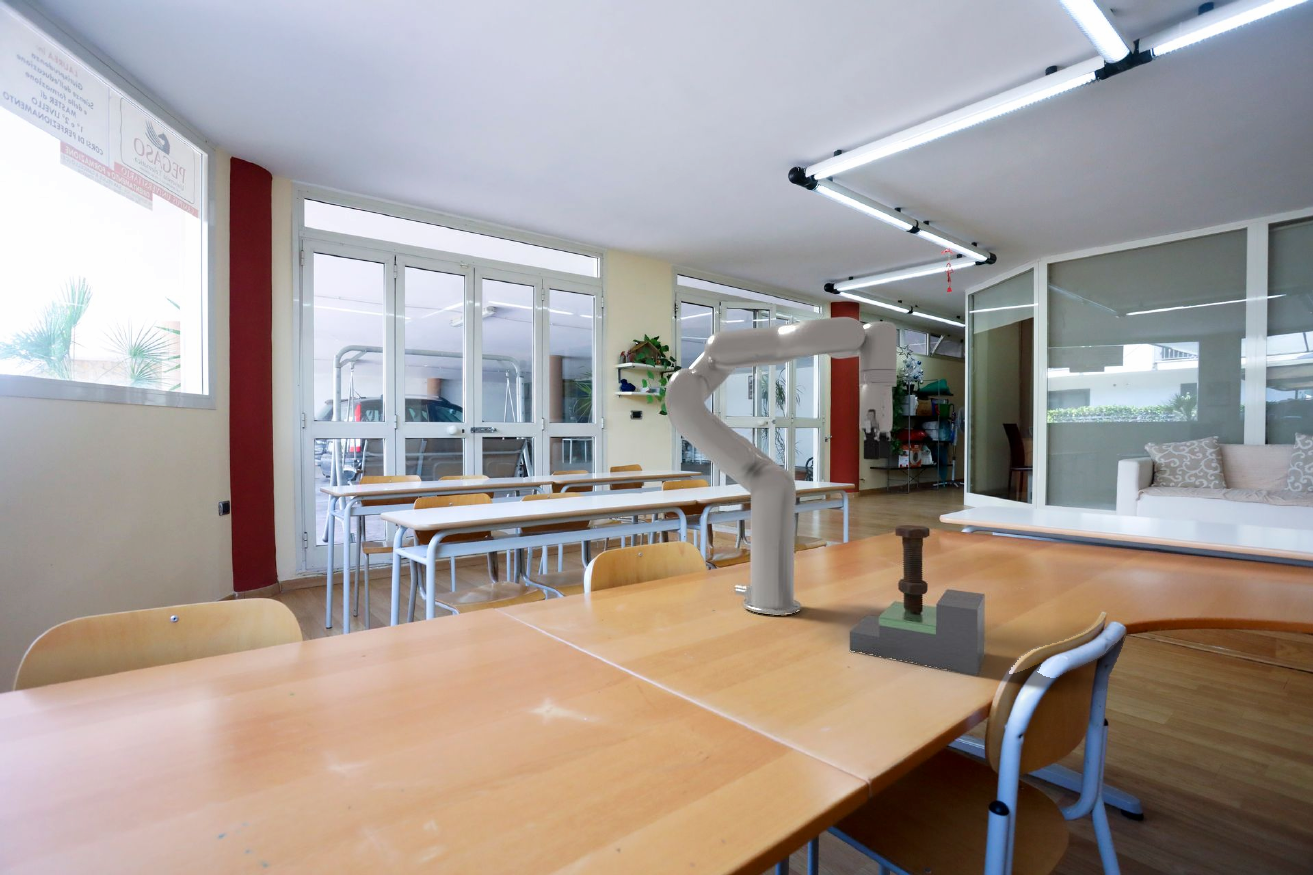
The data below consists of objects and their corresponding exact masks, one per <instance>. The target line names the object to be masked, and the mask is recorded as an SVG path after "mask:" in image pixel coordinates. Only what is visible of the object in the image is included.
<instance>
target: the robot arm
mask: <svg viewBox="0 0 1313 875" xmlns="http://www.w3.org/2000/svg"><path fill="white" fill-rule="evenodd" d="M897 331H898V330H897V326H896V325H895V323H893V322H890V321H870V322H868V323H864V324H862V322H860V321H859V320H858V319H856V318H853V317H848V316H838V317H827V318H817V319H810V320H803V321H799V322H792V323H786V324H785V323H783V324H780V325H775V326H774V325H772V326H764V327H755V328H754V327H752V328H744V329H743V328H742V329H741V328H740V329H732V330H729V329H728V330H723V331H722V330H721V331H717V332H714V333H713V334H711V335H710V336H708V338H707V340H706V343H705V345H704V351H703V352H702V353H701V354H700V355H699V357H698V358H697V359H696V360H695V361H694V362H693V363H692V364H691V365H690V366H689V368H688V367H686V368H681V369H678V370H677V371H675V372H674V373H673V374H672V375H671V376H670V378H668V379H669V380H668V382H667V385H666V389H665V394H664V395H665V396H664V404H665V405H664V406H665V410H666V414H667V416H668V419H669V421H670V423H671V425H672V426H673V428H674V429H675V431H677V432H678V434H679V435H680V436H681V437H682V438H683V439H685V440H686V442H688V443H689V444H690V445H691V446H693V447H694V449H696V450H697V451H698V452H699V453H700V454H702V455H703V456H704V457H705V458H707V459H708V461H710V462H711V463H713V465H714V466H715V467H716V468H717V469H718V470H719V471H720V472H721V473H722V474H724V475H727V476H728V477H730V478H731V479H732V480H733V481H735V482H736V484H737V485H738V484H739V486H741V487H742V488H743V489H744V490H745V491H747V492H748V493H749V494H750V584H748V585H745V584H740V583H736V584H735V586H734V592H735V595H738V596H739V595H741V596H744V597H745V599H744V600H743V603H742V605H744V607H745V608H747V609H749V610H753V611H755V612H758V613H769V614H785V613H794V612H796V611H797V610H800V609H801V610H802V604H801V602H800V601H798V600H796V599H795V514H796V500H797V498H796V497H797V494H796V493H797V491H796V489H797V488H796V484H795V480H794V477H793V476H792V474H791V473H790V472H789V471H788V470H787V469H786V468H784V467H783V466H781V465H779V464H778V463H777V462H776V461H775V460H773V459H772V458H771V457H769V455H768V454H766V453H765V452H763V451H762V450H761V449H759V448H758V447H757V446H756V445H755V444H753V443H752V442H751V441H750V440H749V439H748V438H746V436H745V437H744V435H741V434H739V433H738V432H736V431H735V430H734V429H732V428H731V427H729V425H727V424H726V423H725V422H724V421H722V420H721V419H720V417H718V416H717V415H715V414H714V413H713V412H712V411H711V410H710V409H709V408H708V407H707V405H706V404H705V402H706V401H707V400H708V399H709V398H710V397H711V396H712V395H713V394H714V393H715V392H716V391H717V389H718V388H719V387H720V386H722V384H723V383H724V382H725V381H726V380H727V379H728V378H729V376H730V375H731V374H732V373H733V372H734V371H735V369H743V368H752V367H753V368H754V367H765V366H766V367H767V366H778V365H783V364H786V363H790V362H792V361H795V360H798V359H802V358H806V357H813V356H820V355H828V357H830V358H832V359H837V360H838V359H839V360H841V359H843V360H844V359H847V358H848V359H849V358H856V357H859V388H861V393H860V406H859V408H860V409H859V425H858V426H859V430H860V431H861V432H863V459H864V460H872V461H873V460H875V461H876V460H877V461H878V460H880V459H891V458H892V440H891V439H892V436H891V431H892V429H893V422H894V421H893V419H894V418H893V417H894V416H893V414H894V413H893V390H892V388H893V387H897V383H898V382H897V377H898V376H897V374H898V372H897V366H898V365H897V363H898V362H897V360H898V359H897V358H898V357H897V352H898V351H897V350H898V348H897V347H898V345H897V343H898V341H897V340H898V334H897V333H898V332H897ZM744 607H743V608H744ZM745 608H744V609H745ZM758 613H757V614H758Z"/></svg>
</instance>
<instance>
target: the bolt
mask: <svg viewBox="0 0 1313 875" xmlns="http://www.w3.org/2000/svg"><path fill="white" fill-rule="evenodd" d="M930 533H931V531H930V528H929V527H927V526H924V525H913V524H907V525H906V524H905V525H903V524H901V525H897V526H896V527H895V536H898V537H901V538H902V539H901V543H902V550H903V551H902V561H903V562H902V563H903V564H902V565H903V566H902V567H903V568H902V571H903V572H902V574H903V576H902V578H901V579H900V580H899V581H898V584H897V586H898V588H897V589H898V591H900V593H903V601H902V602H903V603H904V604H903V605H904V606H903V607H904V608H905V611H907V612H909V613H911V614H913V613H916V614H920V613H921V612H922V611H923V605H924V604H923V602H924V598H923V596H924V595H926V594H927V592H928V587H929V586H928V583H927V582H926V581H925V580H923V577H924V576H923V545H924V539H926V538H928V537H930V536H931V535H930Z"/></svg>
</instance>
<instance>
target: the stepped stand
mask: <svg viewBox="0 0 1313 875" xmlns="http://www.w3.org/2000/svg"><path fill="white" fill-rule="evenodd" d="M985 596H986V594H985V593H980V592H973V591H972V592H971V591H965V590H956V589H955V590H954V589H948V588H946V590H945V591H944V593H943V594H942V596H941V597H940V598H939V600H938V601H937V602H936V606H931V605H925V604H922V605H923V611H922V612H921V613H920V614H916V613H913V614H911V613H909V612H907V611H905V608H904V607H903V606H904V605H903V604H904V603H903V602H904V601H897V600H894V601H893V602H892V603H891V604H890V605H888V607H887V608H885V610H884V611H883V612H882V613H881V614H880V615H879V616H873V615H868V614H867V615H866V616H865V617H864V618H863V619H862V620H861V621H859V623H857V624H856V625H855V626H854V627H852V629H851V630H850V631H849V651H850V650H851V651H855V652H862V653H865V654H873V655H876V656H881V657H885V658H884V659H886V658H892V659H896V660H902V661H907V662H913V663H917V664H920V665H919V666H922V665H927V666H931V667H930V668H932V667H937V668H939V669H938V670H942V669H947V670H946V671H948V670H949V672H953V671H954V672H955V673H960V674H962V675H963V674H964V675H969V676H974V677H978V676H979V673H980V669H981V666H982V663H983V660H984V657H985V654H986V653H985V648H986V647H985V641H986V640H985V638H986V637H985V636H986V635H985V634H986V632H985V628H986V627H985V624H986V622H985V621H986V620H985V615H986V611H985V608H986V606H985V605H986V604H985V602H986V600H985V599H986V598H985ZM855 652H854V653H855ZM984 653H985V654H984ZM865 654H864V655H865ZM876 656H875V657H876ZM881 657H880V658H881ZM896 660H895V661H896ZM917 664H916V665H917ZM927 666H926V667H927ZM937 668H936V669H937ZM954 672H953V673H954Z"/></svg>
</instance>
